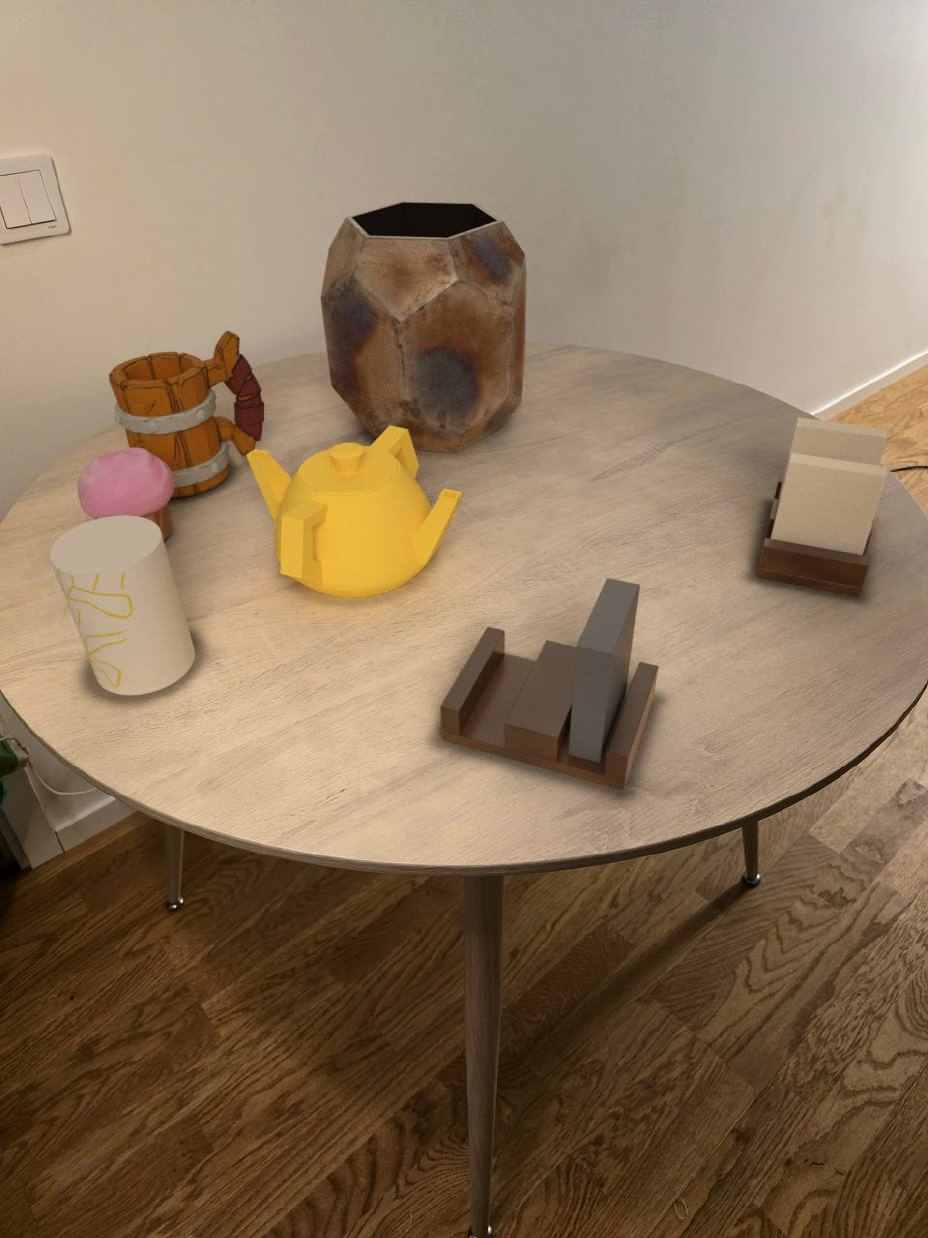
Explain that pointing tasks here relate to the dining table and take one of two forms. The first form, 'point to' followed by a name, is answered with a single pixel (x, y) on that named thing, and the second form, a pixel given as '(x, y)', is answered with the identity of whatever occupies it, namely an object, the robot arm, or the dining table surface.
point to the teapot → (354, 516)
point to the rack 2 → (811, 562)
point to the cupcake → (128, 487)
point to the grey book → (602, 669)
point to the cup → (124, 603)
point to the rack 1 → (539, 710)
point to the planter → (427, 321)
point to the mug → (189, 411)
